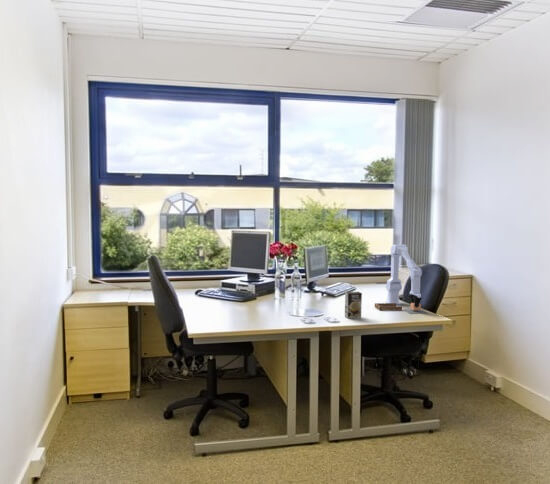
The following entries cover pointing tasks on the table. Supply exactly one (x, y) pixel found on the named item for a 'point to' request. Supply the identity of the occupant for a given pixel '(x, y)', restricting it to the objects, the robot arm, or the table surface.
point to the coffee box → (353, 304)
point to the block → (415, 307)
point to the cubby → (387, 306)
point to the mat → (414, 311)
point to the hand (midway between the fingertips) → (415, 306)
